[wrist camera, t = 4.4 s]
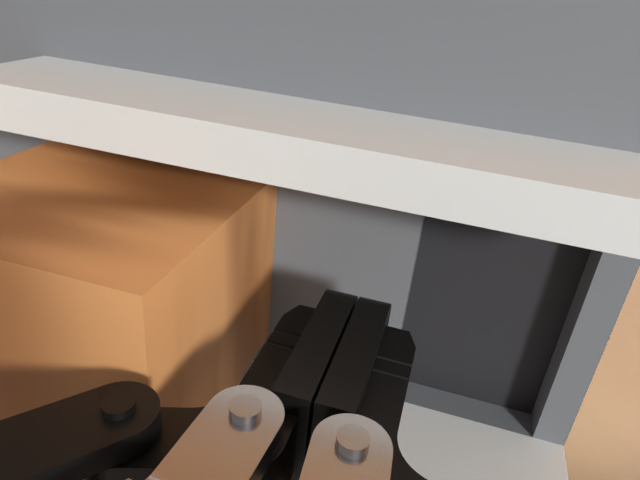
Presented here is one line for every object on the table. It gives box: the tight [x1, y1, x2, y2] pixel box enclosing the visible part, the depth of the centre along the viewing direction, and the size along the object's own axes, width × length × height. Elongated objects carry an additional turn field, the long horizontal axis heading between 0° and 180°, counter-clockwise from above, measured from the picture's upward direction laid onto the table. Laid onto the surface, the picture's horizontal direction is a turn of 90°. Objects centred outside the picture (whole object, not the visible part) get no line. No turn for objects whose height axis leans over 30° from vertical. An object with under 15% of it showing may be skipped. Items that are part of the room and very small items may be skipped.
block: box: [0, 141, 277, 480], centre depth 13 cm, size 6×5×6 cm
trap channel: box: [0, 0, 640, 480], centre depth 15 cm, size 23×16×4 cm
